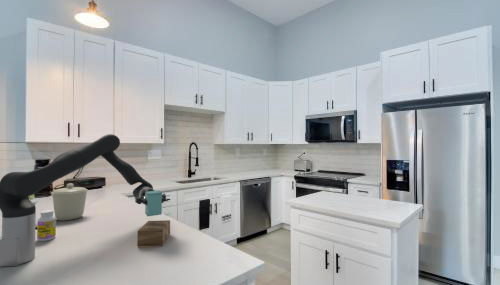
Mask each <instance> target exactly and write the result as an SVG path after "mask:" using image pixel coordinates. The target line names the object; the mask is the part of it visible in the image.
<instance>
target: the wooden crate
mask: <svg viewBox="0 0 500 285" xmlns="http://www.w3.org/2000/svg"><path fill="white" fill-rule="evenodd" d="M170 236H171V220H148V221H147V222H146V223H145V224H143V225H142V226H141V227H140V228H139V229H138V230H137V239H136V241H137V243H136V246H137V248H154V247H153V246H160V247H163V246H164V244H165V242H166V241H167V239H168V238H169V237H170Z"/></svg>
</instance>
